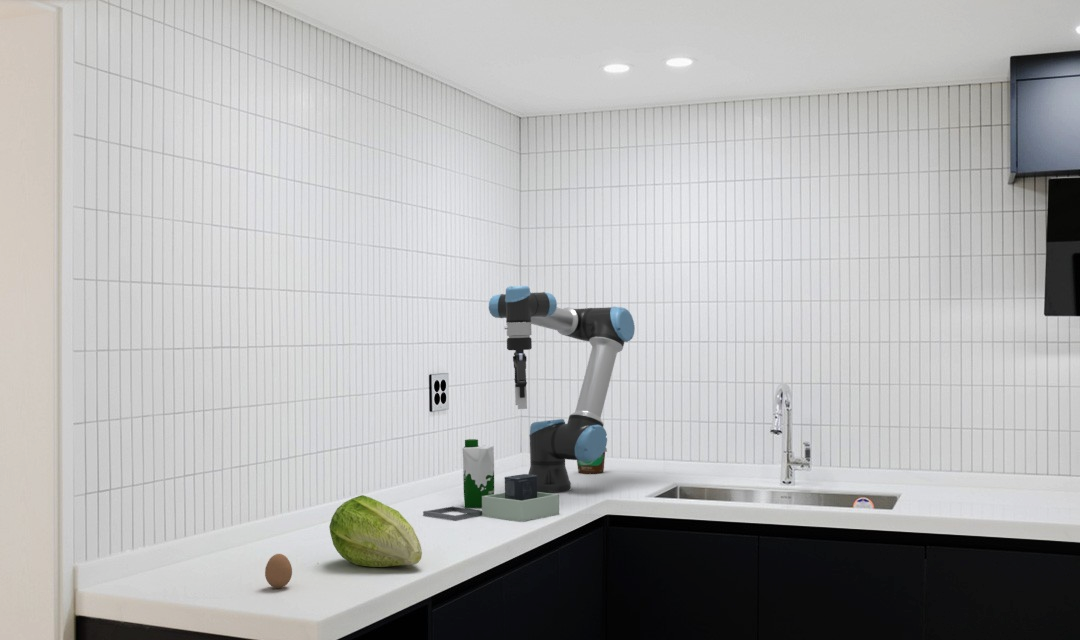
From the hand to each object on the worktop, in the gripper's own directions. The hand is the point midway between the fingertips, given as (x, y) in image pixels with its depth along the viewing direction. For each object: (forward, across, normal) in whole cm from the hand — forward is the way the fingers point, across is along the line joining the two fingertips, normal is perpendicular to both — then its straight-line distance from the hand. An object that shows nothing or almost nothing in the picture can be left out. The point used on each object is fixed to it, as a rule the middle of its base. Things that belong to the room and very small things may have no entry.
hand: (521, 407), depth 320 cm
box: (+29, +18, -2) cm, 34 cm away
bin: (+29, +18, -2) cm, 35 cm away
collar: (+29, +16, -21) cm, 39 cm away
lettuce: (+28, +80, -37) cm, 92 cm away
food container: (+32, -69, +28) cm, 81 cm away
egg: (+27, +99, -56) cm, 117 cm away
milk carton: (+30, 0, -14) cm, 33 cm away
